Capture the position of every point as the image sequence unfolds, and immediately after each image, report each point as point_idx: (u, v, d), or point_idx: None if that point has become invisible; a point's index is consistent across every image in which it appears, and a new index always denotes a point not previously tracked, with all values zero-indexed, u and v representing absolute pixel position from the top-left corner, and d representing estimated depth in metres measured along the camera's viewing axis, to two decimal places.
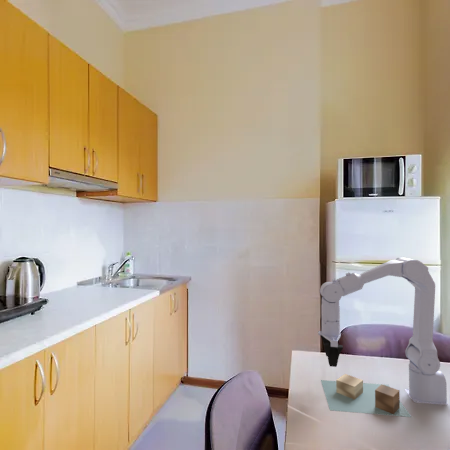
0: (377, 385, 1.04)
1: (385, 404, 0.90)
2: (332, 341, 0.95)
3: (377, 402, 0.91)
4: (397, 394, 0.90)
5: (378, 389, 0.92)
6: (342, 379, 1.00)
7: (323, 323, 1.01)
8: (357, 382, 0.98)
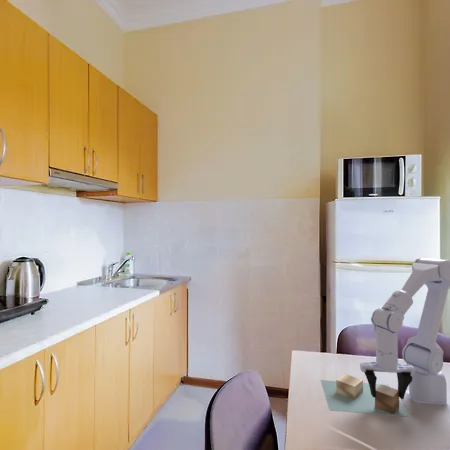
0: (377, 385, 1.04)
1: (384, 404, 0.90)
2: (360, 364, 0.93)
3: (377, 402, 0.91)
4: (397, 394, 0.90)
5: (378, 389, 0.92)
6: (342, 379, 1.00)
7: None
8: (357, 382, 0.98)
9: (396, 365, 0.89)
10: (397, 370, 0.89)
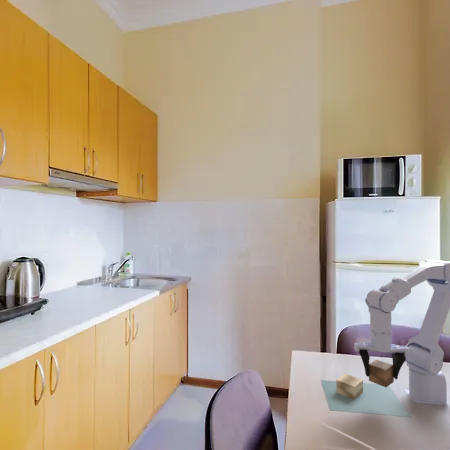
0: (377, 385, 1.04)
1: (378, 377, 0.91)
2: (354, 343, 0.95)
3: (370, 376, 0.93)
4: (391, 368, 0.91)
5: (372, 363, 0.93)
6: (342, 379, 1.00)
7: None
8: (357, 382, 0.98)
9: (389, 345, 0.90)
10: (391, 350, 0.90)
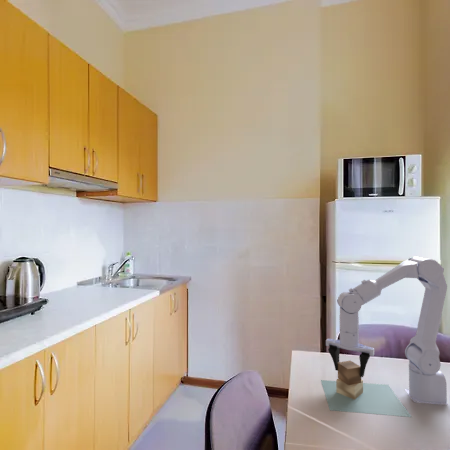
0: (377, 385, 1.04)
1: (343, 375, 0.99)
2: None
3: (339, 373, 1.01)
4: (356, 369, 0.98)
5: (341, 362, 1.01)
6: None
7: None
8: None
9: (353, 344, 0.97)
10: (354, 348, 0.97)
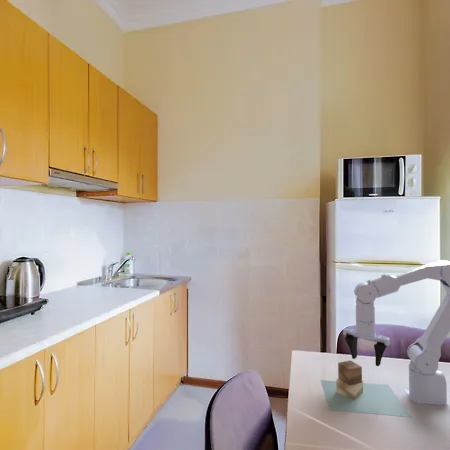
0: (377, 385, 1.04)
1: (344, 375, 0.98)
2: None
3: (339, 374, 1.00)
4: (357, 369, 0.98)
5: (342, 362, 1.01)
6: None
7: None
8: None
9: (368, 333, 0.99)
10: (369, 338, 0.99)
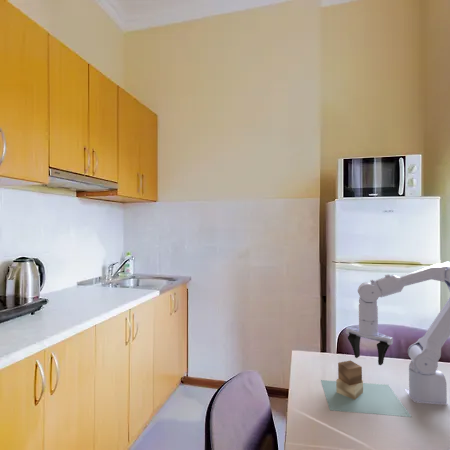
0: (377, 385, 1.04)
1: (344, 375, 0.98)
2: None
3: (339, 374, 1.00)
4: (357, 369, 0.98)
5: (342, 362, 1.01)
6: None
7: None
8: None
9: (371, 332, 1.00)
10: (371, 337, 1.00)
